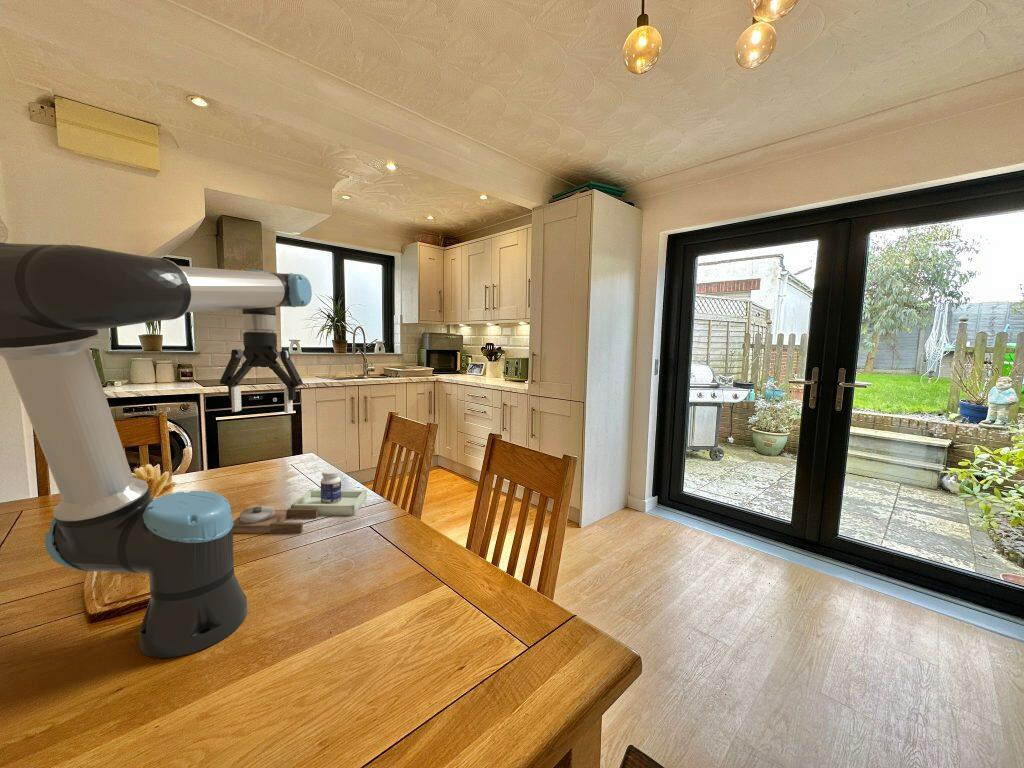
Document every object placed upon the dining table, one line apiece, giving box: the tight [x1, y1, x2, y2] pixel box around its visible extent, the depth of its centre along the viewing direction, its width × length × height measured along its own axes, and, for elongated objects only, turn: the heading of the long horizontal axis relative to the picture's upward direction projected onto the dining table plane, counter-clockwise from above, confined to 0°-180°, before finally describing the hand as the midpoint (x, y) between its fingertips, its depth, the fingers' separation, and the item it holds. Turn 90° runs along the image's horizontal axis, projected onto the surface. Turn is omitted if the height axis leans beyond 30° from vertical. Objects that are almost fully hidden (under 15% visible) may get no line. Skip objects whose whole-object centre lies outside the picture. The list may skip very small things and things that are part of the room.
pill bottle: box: [320, 468, 342, 504], centre depth 124 cm, size 6×6×10 cm
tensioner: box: [233, 505, 319, 534], centre depth 112 cm, size 10×19×5 cm, turn 92°
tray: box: [290, 489, 368, 517], centre depth 124 cm, size 12×18×3 cm, turn 92°
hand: (262, 411), depth 109 cm, fingers open, 13 cm apart
